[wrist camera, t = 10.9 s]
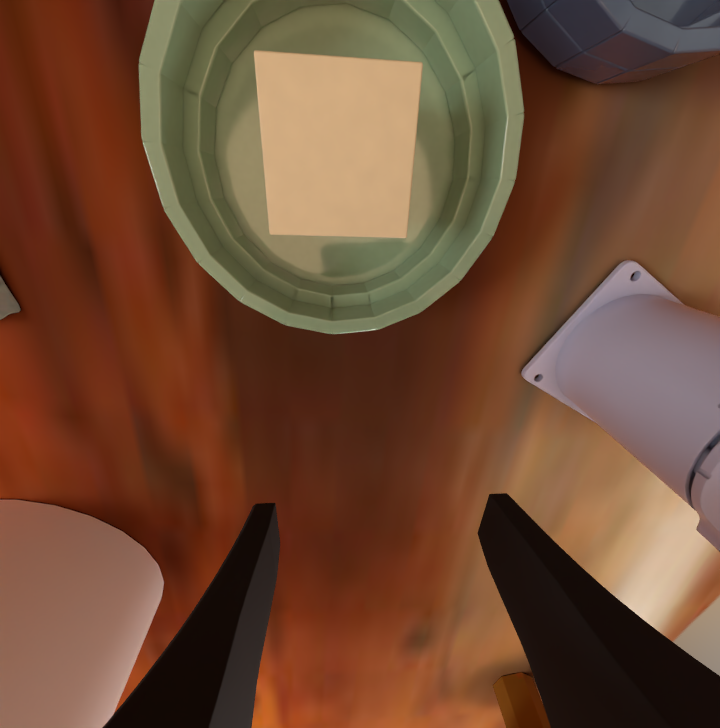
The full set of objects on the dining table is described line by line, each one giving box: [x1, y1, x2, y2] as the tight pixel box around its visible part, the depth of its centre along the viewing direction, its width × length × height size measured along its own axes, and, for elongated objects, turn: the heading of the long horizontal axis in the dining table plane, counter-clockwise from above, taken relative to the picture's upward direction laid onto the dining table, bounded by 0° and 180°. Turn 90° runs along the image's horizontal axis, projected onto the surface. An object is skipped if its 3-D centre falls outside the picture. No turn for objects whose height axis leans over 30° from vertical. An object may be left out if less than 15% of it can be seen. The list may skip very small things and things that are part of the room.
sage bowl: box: [139, 0, 524, 334], centre depth 13 cm, size 12×12×4 cm
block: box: [254, 50, 423, 238], centre depth 12 cm, size 4×4×5 cm
